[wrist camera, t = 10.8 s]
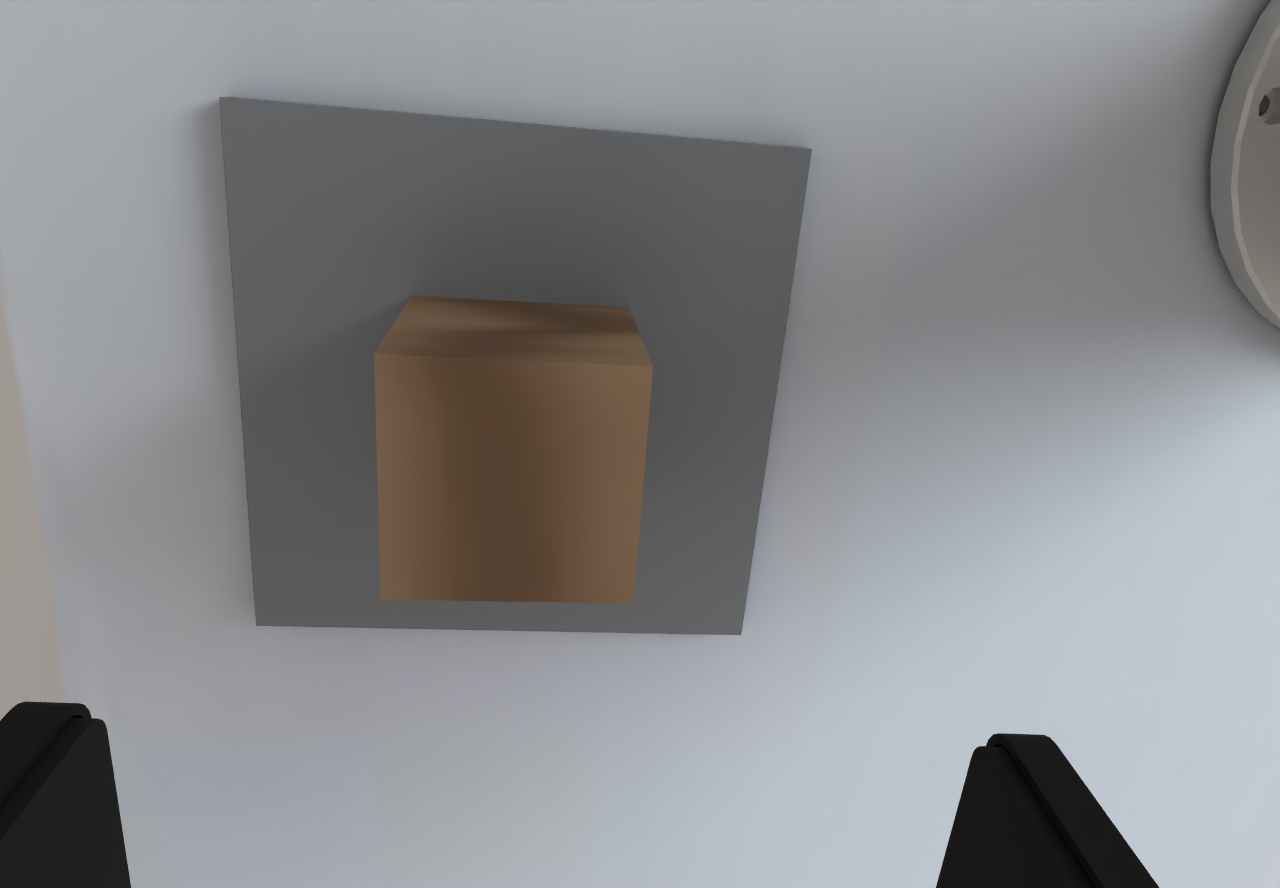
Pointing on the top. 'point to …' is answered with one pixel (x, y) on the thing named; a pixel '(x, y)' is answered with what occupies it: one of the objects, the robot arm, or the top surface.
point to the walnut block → (510, 451)
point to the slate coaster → (510, 271)
